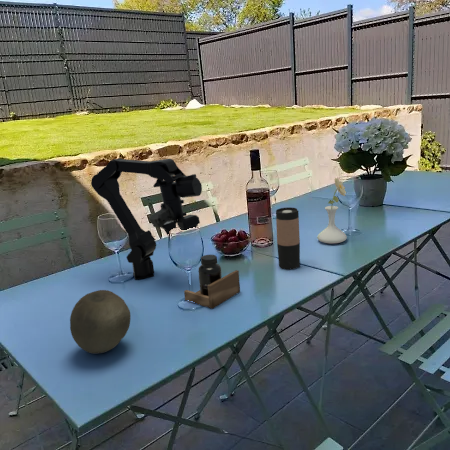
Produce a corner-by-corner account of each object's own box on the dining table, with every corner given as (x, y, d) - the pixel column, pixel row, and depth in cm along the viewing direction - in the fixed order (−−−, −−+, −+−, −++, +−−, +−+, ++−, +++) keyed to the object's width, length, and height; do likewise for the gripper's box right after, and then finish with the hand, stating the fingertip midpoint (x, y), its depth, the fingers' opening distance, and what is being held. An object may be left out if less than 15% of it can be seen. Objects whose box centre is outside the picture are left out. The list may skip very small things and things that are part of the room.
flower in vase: (335, 248, 162) (334, 182, 156) (311, 242, 171) (309, 180, 164) (355, 239, 171) (355, 176, 164) (331, 234, 179) (330, 174, 172)
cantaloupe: (78, 372, 98) (66, 313, 94) (73, 343, 110) (62, 290, 106) (139, 354, 103) (131, 297, 99) (128, 328, 116) (120, 277, 111)
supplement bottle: (207, 301, 126) (204, 263, 123) (196, 293, 132) (192, 257, 129) (227, 294, 130) (224, 257, 126) (215, 287, 135) (212, 251, 132)
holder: (185, 300, 130) (182, 278, 128) (213, 284, 139) (211, 264, 137) (212, 308, 123) (210, 286, 121) (240, 291, 132) (238, 270, 130)
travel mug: (273, 267, 149) (270, 211, 144) (286, 260, 154) (284, 206, 149) (292, 271, 144) (289, 214, 138) (304, 264, 149) (303, 208, 144)
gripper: (135, 204, 140) (146, 249, 144) (165, 206, 126) (176, 256, 129) (164, 196, 147) (174, 239, 150) (195, 197, 132) (205, 245, 136)
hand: (181, 244), depth 141 cm, fingers open, 9 cm apart
